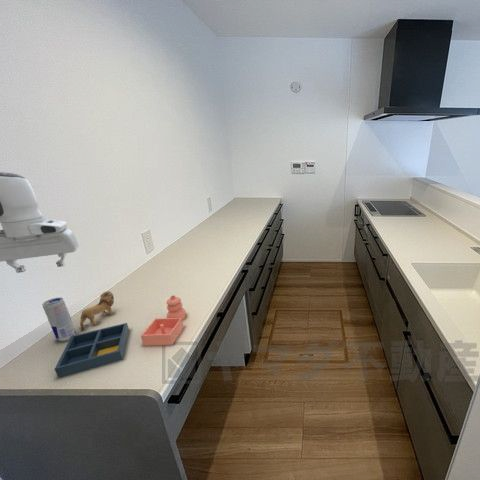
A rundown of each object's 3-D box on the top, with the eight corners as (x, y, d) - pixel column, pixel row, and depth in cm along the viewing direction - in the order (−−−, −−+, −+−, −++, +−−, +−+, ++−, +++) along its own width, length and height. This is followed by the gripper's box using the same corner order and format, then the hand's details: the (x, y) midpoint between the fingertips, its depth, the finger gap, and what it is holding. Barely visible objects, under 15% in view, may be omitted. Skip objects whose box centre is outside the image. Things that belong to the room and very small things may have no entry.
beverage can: (73, 330, 95) (59, 295, 90) (79, 335, 93) (65, 299, 87) (54, 339, 91) (39, 302, 86) (60, 344, 89) (44, 307, 83)
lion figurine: (109, 307, 108) (103, 288, 105) (121, 308, 108) (116, 289, 105) (75, 331, 95) (67, 310, 92) (89, 332, 94) (81, 311, 91)
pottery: (172, 344, 89) (166, 321, 86) (143, 345, 89) (136, 321, 85) (193, 312, 106) (189, 291, 103) (169, 313, 106) (164, 292, 102)
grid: (58, 378, 76) (54, 369, 75) (74, 344, 89) (71, 335, 88) (122, 359, 83) (119, 351, 82) (129, 330, 96) (126, 322, 95)
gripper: (-32, 235, 72) (-11, 280, 76) (66, 226, 81) (79, 266, 85) (-19, 229, 77) (1, 271, 82) (72, 221, 86) (85, 259, 91)
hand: (42, 268), depth 84 cm, fingers open, 8 cm apart
